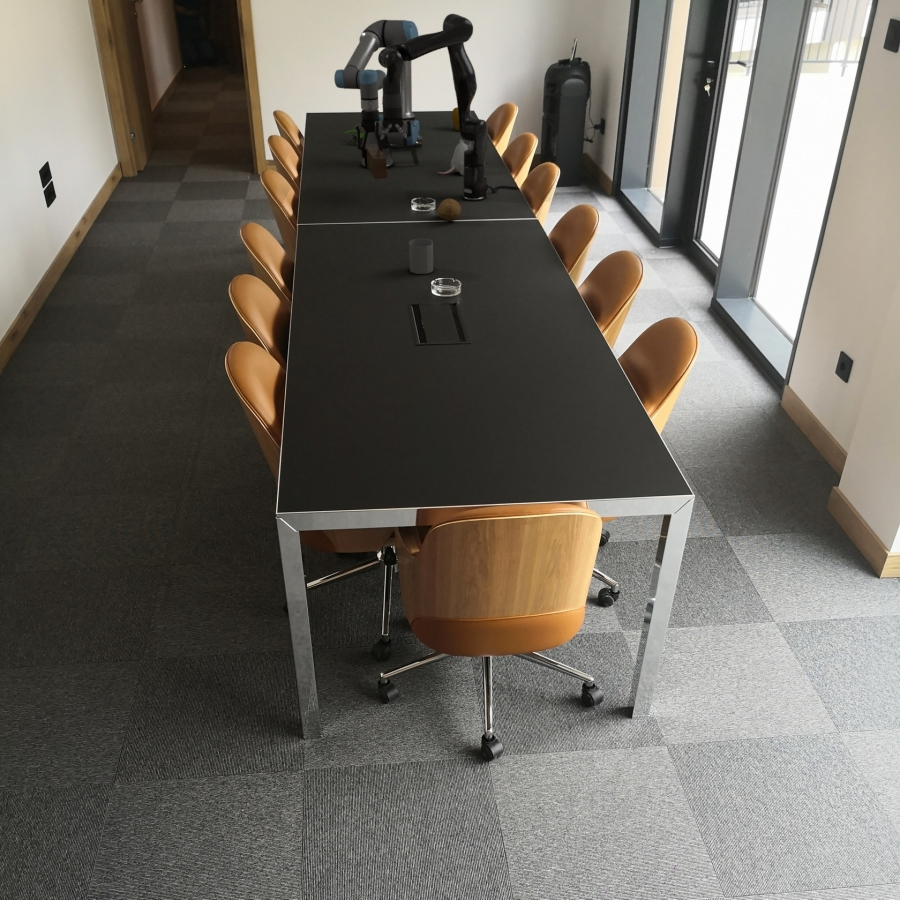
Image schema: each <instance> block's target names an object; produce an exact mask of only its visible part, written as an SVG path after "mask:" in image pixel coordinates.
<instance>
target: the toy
mask: <svg viewBox="0 0 900 900" xmlns="http://www.w3.org/2000/svg"><path fill="white" fill-rule="evenodd" d="M458 142H459V143H457V145H456V146H455V149H454V152H453V155H452V159H451V160H450V169H448V170H446V171H443V172H441V171H437V174H441V175H448V174H450V173H453V174H455V173H456V172H457V173H460V175H461V176H464V151H465V150H467V149H471V148H472V141H469V144H466V143H465V142H464V139H463V138H460V139H459V141H458Z"/></svg>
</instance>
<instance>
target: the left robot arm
mask: <svg viewBox="0 0 900 900" xmlns="http://www.w3.org/2000/svg"><path fill="white" fill-rule="evenodd" d="M417 36H420V35H419V30H418V27H417V25H416V23H415V22H414V21H413V20H407V19H379V20H376V21H374V22H373V23H371V24H369V25H368V26H367V27H365V29H364V30H363V31H362V32H361V34H360V36H359V40H358V41H359V42H358V45H357V46H356V48H355V49H354V51H353V53H352V54H351V56H350V58H349V60H348V62H347V63H346V66H345V67H344V68H342V69H336V70H335V72H334V77H333V78H334V80H333V81H334V84H335V87H336V88H338V89H344V90H359V93H360V94H359V95H360V109H361V111H360V112H361V113H360V114H361V120H360V121H361V122H360V123H359V124H355V126H354V127H355V130H357V132H356V133H357V141H356V143H357V145H356V148H357V150H359V151H361V158H362V159H361V166H362V167H363V168H366V169H368V167H367V151H366V149H365V146H366V145H370V144H377V146H378V147H379V148H380V150H381V151H382V153H383V154H384V156H385V157H386V165H387V169H388V168H390V167H392V166H394V161H393V158H392V155H391V150H390V147H389V145H397V146H403V135H402V134H401V133H400V132H397V133H394V132H393V133H389V132H388V133H387V134H386V135H385V137H384V138H383V139H384V149H382V148H381V147H380V139H379V138H376V137H375V121H378V122H382V121H383V113H380V110H379V108H380V107H379V106H380V105H379V91H380V90H383V87H382V80H383V78H384V77H385V76H386V75H387V73H386V72H385V71H384V70H383V69H368V68H367V69H366V67H367V66H368V63H369V62H370V60H371V59H372V56H373V55H374V53H376V52H377V51H378V50H379V49H384V48H386V47H389V46H392V45H396V44H400V43H404V42H406V41H408V40H410V39H412V38H414V37H417ZM412 77H413V76H412V61H403V71H402V77H401V81H400V83H401V97H402V120H403V121H407V120H410V122H411V137H408V138H407V146H413V145H415V143H416V142H417V141H418V138H419V134H420V121H419V120H418V119H416V115H415V113H414V112H413V91H412V89H413V87H412V86H413V85H412V83H413V81H412ZM362 129H363V133H364V137H363V141H362V143H360V132H361V130H362ZM383 129H384V126H383V125H381V127H380V128H379V135H380V134H381V133H382V131H383ZM401 129H402V130H403V131H404V133H405V134H406V133H408V132H407V126H405V124H403V126H402V127H401Z"/></svg>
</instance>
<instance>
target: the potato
mask: <svg viewBox="0 0 900 900" xmlns="http://www.w3.org/2000/svg"><path fill="white" fill-rule="evenodd" d="M461 212H462V205H461V204H460V203H459V202H458V201H457V200H456V199H453V198H445V199H443V200H442V201H441V202H440V203H439V204H438V207H437V215H438V216H439V217H440V218H441V219H442V220H444V221H447V222H454V221H456V220H457V219H458V218H460V215H461Z"/></svg>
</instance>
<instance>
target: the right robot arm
mask: <svg viewBox="0 0 900 900" xmlns="http://www.w3.org/2000/svg"><path fill="white" fill-rule="evenodd" d="M473 33H474V24H473V22H472V21H471V20H470V19H468V18H467V17H466V16H465V17H464V16H462V15H460V14H457V13H449V14H447V15H446V16H445V18H444V20H443V22H442V30H439V31H436V32H432V33H431V32H430V33H424V34H421V35H419V36H417V37H414V38H412V39H410V40H408V41H406V42H404V43H400V44H396V45H392V46H389V47H386V48H382V49H381V50H380V51H379V53H378V56H377V59H378V63H379V64H380V66H381V67H383V68H384V69H386V76H385V77H384V78H383V80H382V87H383V88H382V97H381V101H382V102H381V104H382V114H383V121H382V122H378V121H375V137H376V138H379V139H380V147H381V148H382V149H384V139H383V138H384V137H385V135H386V134H387V133H388V132H389V133H393V132H394V133H397V132H400V133H401V134H402V135H403V145H402V149H406V147H407V146H408V145H407V138H408V137H411V122H410V120H407V121H403V120H402V97H401V83H400V81H401V77H402V71H403V61H411V62H412V61H415V60H416V59H419V58H421V57H423V56H425V55H427V54H430V53H433V52H436V51H438V50H441V49H444V48H447V49H446V50H447V52H448V56H449V62H450V68H451V74H452V81H453V87H454V92H455V98H456V105H457V107H458V115H459V128H460V131H459V134H460V137H461V139H462V140H463V141H467V142H470V141H471V143H472V142H473V147H471V149H467V150H465V151H464V175H463V193H462V198H463V199H464V200H466V201H470V202H471V201H473V202H474V201H475V202H476V201H477V202H478V201H482V200H485V199H486V198H487V191H489V189H490V190H491V192H492V193H496V191H497V189H501V188H504V189H513V190H519V187H518V186H511V185H497V186H494V188H493V187H492V186H491V185H489V183H488V182H487V180H488V179H487V177H488V176H487V175H486V153H487V148H488V135H489V127H488V122H487V121H486V120H484V119H481V118H475V117H474V118H473V117H472V111H471V105H472V102H473V100H474V99H475V95H476V94H477V91H478V82H477V76H476V71H475V68H474V66H473V63H472V61H471V60H470V57H469V56H468V54H467V50H466V48H465V44H464V43H466V42H468V41H469V40H470V39H471V38H472V36H473ZM470 111H471V112H470ZM403 124H405V126H407V132H408V133H406V134H405V133H404V131H403V130H402V129H401V127H402V126H403ZM381 125H383V126H384V129H383V131H382V133H381V134H380V135H379V128H380V127H381Z"/></svg>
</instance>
